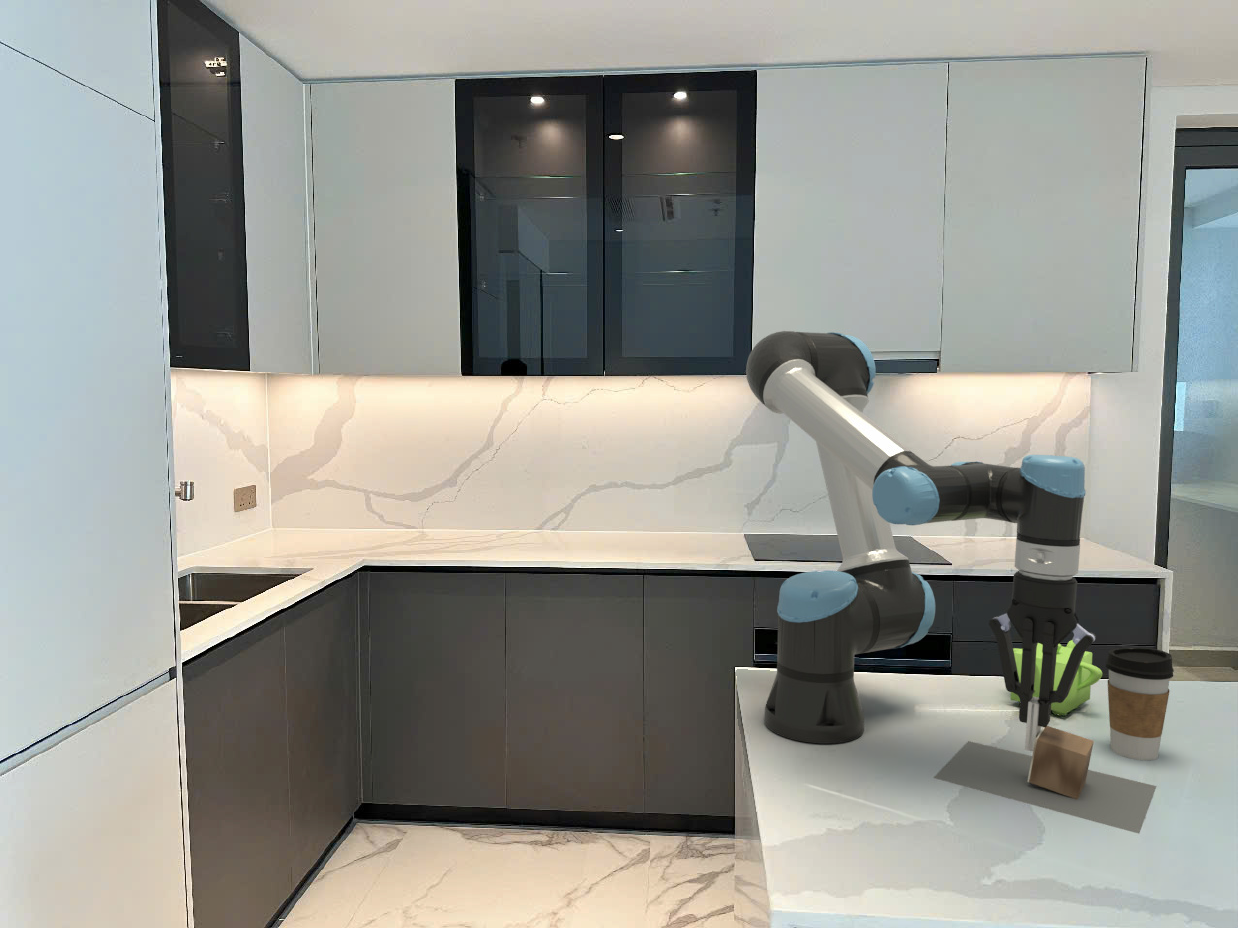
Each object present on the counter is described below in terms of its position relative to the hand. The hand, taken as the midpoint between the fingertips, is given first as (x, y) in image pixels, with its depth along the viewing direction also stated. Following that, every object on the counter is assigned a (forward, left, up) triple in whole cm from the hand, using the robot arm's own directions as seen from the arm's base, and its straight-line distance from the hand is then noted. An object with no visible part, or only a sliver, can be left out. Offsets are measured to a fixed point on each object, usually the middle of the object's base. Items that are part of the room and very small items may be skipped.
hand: (1032, 747), depth 118 cm
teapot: (-4, +33, -5) cm, 34 cm away
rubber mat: (+2, 0, -5) cm, 5 cm away
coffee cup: (+10, +19, -5) cm, 22 cm away
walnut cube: (+1, 0, -1) cm, 1 cm away
